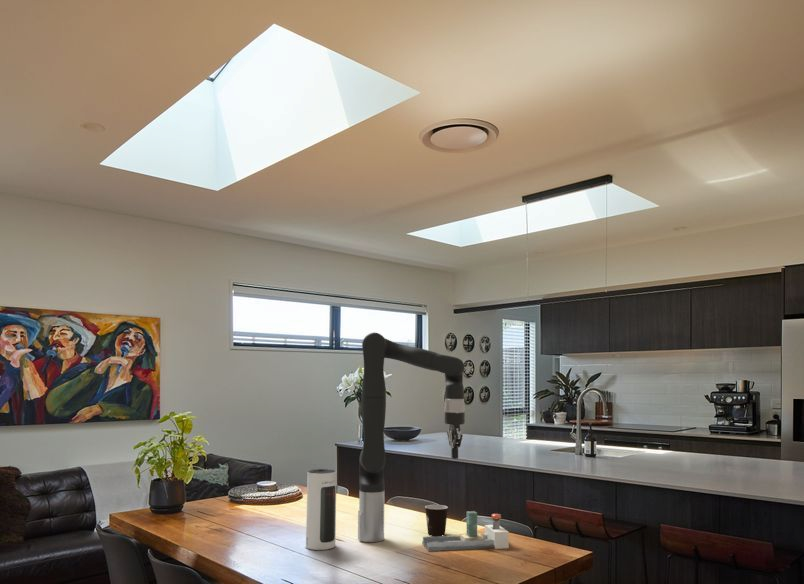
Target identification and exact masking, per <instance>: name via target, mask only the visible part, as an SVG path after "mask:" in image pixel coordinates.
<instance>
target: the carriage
mask: <svg viewBox="0 0 804 584" xmlns="http://www.w3.org/2000/svg"><path fill="white" fill-rule="evenodd" d="M459 535H460V540H484V537H483V536H482V535H480V533H478V512H476V510H471V511H468V510H467V511H466V533H464V534H462V533H461V534H459Z"/></svg>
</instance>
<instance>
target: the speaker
mask: <svg viewBox="0 0 804 584" xmlns="http://www.w3.org/2000/svg"><path fill="white" fill-rule="evenodd" d="M306 476H307V477H306V479H307V480H306V483H307V484H306V485H307V486H306V487H307V488H306V521H305V522H306V525H305V526H306V527H305V528H306V530H305V548H306V549H308V550H310V551H327V550H332V549H333V548H335V547H336V535H337V534H336V530H337V528H336V527H337V525H336V524H337V523H336V521H337V517H336V516H337V470H336V469H331V468H328V469H327V468H316V469H310V470H308V471H307V475H306Z"/></svg>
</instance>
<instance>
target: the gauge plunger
mask: <svg viewBox="0 0 804 584" xmlns="http://www.w3.org/2000/svg"><path fill="white" fill-rule="evenodd" d="M501 515H502V514H500V513H492V514H491V519H492V525H493V530H496V529H500V526H501V525H500V523H501V522H500V521H501V520H500V519H502V516H501Z"/></svg>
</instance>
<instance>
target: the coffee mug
mask: <svg viewBox="0 0 804 584" xmlns="http://www.w3.org/2000/svg"><path fill="white" fill-rule="evenodd" d="M448 508H449V507H448V506H447V505H443V504H428V505H425V506H424V509H425V518H426V527H427V528H426V529H427V535H428V534H429V535H428V536H430V535H432V536H442V535H444V536H446V528H447V518H448Z"/></svg>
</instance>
